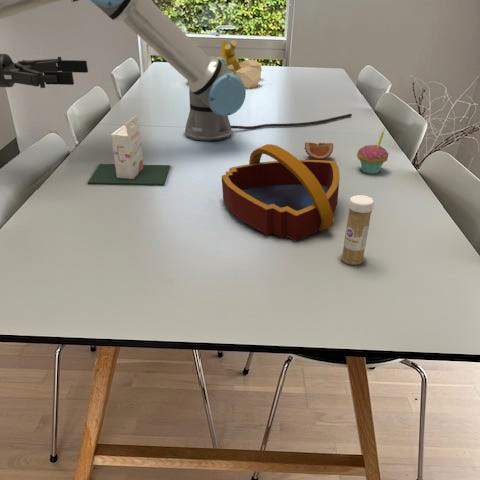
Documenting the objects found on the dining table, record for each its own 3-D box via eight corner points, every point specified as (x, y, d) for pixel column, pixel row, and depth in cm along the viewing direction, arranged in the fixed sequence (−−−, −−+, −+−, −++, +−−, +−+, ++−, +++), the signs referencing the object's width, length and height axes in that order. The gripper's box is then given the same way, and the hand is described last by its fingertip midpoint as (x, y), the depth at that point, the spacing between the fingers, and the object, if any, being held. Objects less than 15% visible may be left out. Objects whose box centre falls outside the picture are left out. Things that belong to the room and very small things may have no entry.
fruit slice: (303, 162, 158) (304, 145, 155) (303, 154, 163) (305, 138, 160) (331, 163, 157) (333, 146, 154) (331, 156, 162) (333, 139, 160)
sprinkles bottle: (337, 260, 110) (345, 199, 103) (348, 252, 113) (357, 192, 105) (356, 268, 108) (366, 205, 100) (367, 259, 111) (378, 198, 103)
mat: (170, 166, 153) (169, 165, 153) (163, 185, 142) (163, 183, 141) (100, 165, 153) (99, 163, 153) (88, 184, 142) (87, 182, 141)
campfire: (262, 92, 226) (264, 47, 216) (182, 90, 226) (180, 45, 216) (260, 74, 255) (262, 33, 245) (189, 72, 255) (188, 32, 245)
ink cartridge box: (127, 167, 151) (121, 112, 142) (144, 168, 150) (139, 114, 142) (115, 178, 144) (108, 122, 135) (133, 179, 143) (127, 123, 135)
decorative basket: (207, 198, 140) (197, 143, 131) (305, 168, 147) (302, 113, 138) (262, 260, 116) (255, 197, 106) (377, 220, 123) (380, 157, 113)
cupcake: (386, 167, 155) (394, 125, 148) (383, 178, 148) (391, 134, 141) (357, 164, 157) (363, 122, 150) (352, 173, 151) (358, 130, 144)
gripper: (15, 76, 145) (94, 77, 145) (-23, 99, 124) (68, 101, 124) (9, 45, 140) (90, 46, 140) (-32, 64, 120) (63, 65, 120)
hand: (80, 72), depth 132 cm, fingers open, 13 cm apart
